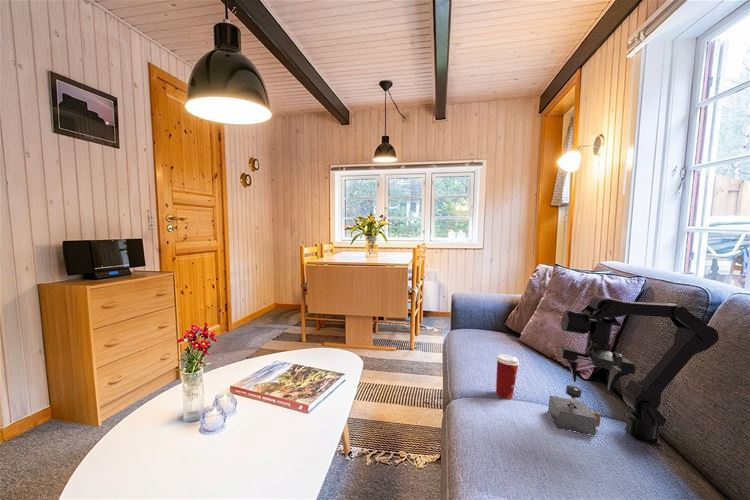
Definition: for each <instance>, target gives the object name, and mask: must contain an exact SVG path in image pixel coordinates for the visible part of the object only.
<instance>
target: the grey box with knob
mask: <svg viewBox="0 0 750 500" xmlns="http://www.w3.org/2000/svg"><path fill="white" fill-rule="evenodd" d="M548 398H549V399H548V409H547V412H548V414H549V413H550V414H549V416H550V415H551V416H550V417H552V418H551V420H552V419H553V420H552V422H553V423H554V425H555V424H556V425H555V427H556V426H557V427H556V428H557V429H558V430H562V429H565V430H564V431H567V430H571V431H570V432H572V431H576V432H580V433H579V434H581V433H585V434H584V435H586V434H591V435H595V436H596V429H597V428H600V423H601V415H602V414H601V413H600V412H599V411H594V410H591V409H590V408H589V407H588V406H587V405H586V403H585V402H584V401H579V400H575V404H574V407H575V408H576V409H575V408H570V407H568V406H570V398H564V397H559V396H554V395H549V397H548ZM576 432H575V433H576Z"/></svg>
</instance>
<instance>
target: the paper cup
mask: <svg viewBox="0 0 750 500" xmlns="http://www.w3.org/2000/svg"><path fill="white" fill-rule="evenodd" d="M496 361H497V362H496V380H495V381H496V383H495V394H496V396H498V397H499V398H502V399H505V400H512V399H513V396H514V391H515V387H516V386H515V385H516V380H517V374H518V367H519V365H520V361H519V359H518V358H517V357H515V356H513V355H510V354H507V353H506V354H504V353H503V354H498V356H497V358H496Z"/></svg>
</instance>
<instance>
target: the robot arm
mask: <svg viewBox="0 0 750 500" xmlns="http://www.w3.org/2000/svg"><path fill="white" fill-rule="evenodd" d="M624 316H641V317H643V316H644V317H655V318H658V317H659V318H668V319H669V321H670V322H671V324H672V325H673V326H674V327H676V331H675V332H674V339H673V344H672V346H671V347H670V348H669V349H668V350H667V352H665V354H664V355H663V356H662V357H661V358H660V360H658V362H657V363H656V364H655V366H653V368H651V370H650V371H649V372H648V373H647V375H646V376H645V377H644V378H643V379H642V380H639V381H635V380H633V379H631V380H629V382H628V384H627V385H626V386H625V387H623V388H622V389H623V392H622V399H623V402H624V403H626V405H627V408H628V409H629V410H630V412H629V416H628V417H627V420H626V426H624V429H625V430H626V431H627V432H628V433H629V434H630V435H631V437H633V439H634V440H636V441H638V440H640V441H639V442H643V441H645V442H644V443H648V442H649V443H648V444H652V445H658V446H662V443H661V441H659V437H660V436H659V433H660V427H663V426H664V425H665V424H666V422H667V419H666V418H665V417H664V416H663V415H662V413H661V412H660V411H659V410H658V409H659V407H660V405H661V404H662V402H661V401H662V396H663V395H662V393H663V392H664V391H665V389H666V388H667V387H668V386H669V385H670V383H671V382H672V381H674V379H675V377H676V376H678V375H679V374H680V372H681V371H682V370H683V369H684V367H686V365H687V364H688V363H689V362H690V360H691V359H692V358H693V357H694V356H695V355H697V354H700V353H704V352H705V351H706V352H707V351H708V350H709V349H711V348H712V347H713V346H714V345H715V344H717V343H718V341H719V340H720V336H719V333H718V331H717V329H715V328H714V327H713V326H710V325H708V324H707V323H706V322H704V321H703V320H701V319H700V318H698V317H697V316H695V314H693V313H691V312H690V311H689V310H688V309H687V308H686V307H685V306H683V305H680V304H676V303H673V302H669V303H668V302H667V303H662V302H659V303H658V302H645V301H627V300H620V299H616V298H612V297H606V296H602V295H596V296H594V297H592V298H591V300H590V301H589V303H588V304H587V305H586V306H585V307H583V309H581V310H580V312H579V311H573V310H570V309H566V310H565V313H563V315H562V317H561V319H560V327H561V328H560V329H561V330H562V331H563V332H567V333H573V334H578V335H585V334H587V336H586V345H585V348H584V352H579V351H577V350H576V348H575V347H571V346H566V345H562V346H560V347H559V352H558V353H559V355H560V356H561V358H562V359H564V360H565V361H566V362H567V363H568V364H569V368H570V373H571V377H572V381H573V383H576V382H577V371H578V370H577V369H578V361H577V360H578V359H580V360H585V361H590V362H591V364H592V365H593V366H594V367H596V368H603V369H606V370H608V371H609V375H608V381H607V390H608V391H609V392H611V390H612V389H613V387H614V386H615V385H616V383H617V382H618V381H619V379H620V378H622V377H624V376H629V375H630V374H631V375H635V374H636V367H637V366H636V365H635V364H634V363H633V362H632V361H631V360H629V359H627V358H624V357H623V355H622V354H621V353H617V352H612V350H611V348H612V347H611V346H612V344H611V337H612V331H613V326H615V327H621V326H622V324H621V323H620V321H618V320H617V318H621V317H624Z"/></svg>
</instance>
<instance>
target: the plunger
mask: <svg viewBox="0 0 750 500" xmlns="http://www.w3.org/2000/svg"><path fill="white" fill-rule="evenodd" d="M565 394H566V395H568V396H569V397H570V398H569V399H570V406H568V407H570V408H575V407H574V404H575V401H576V398H577V399H580V398H581V397H582V389H581V388H579V387H578V386H575V385H571V384H570V385H569V384H567V385H566V389H565ZM575 409H576V408H575Z"/></svg>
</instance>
